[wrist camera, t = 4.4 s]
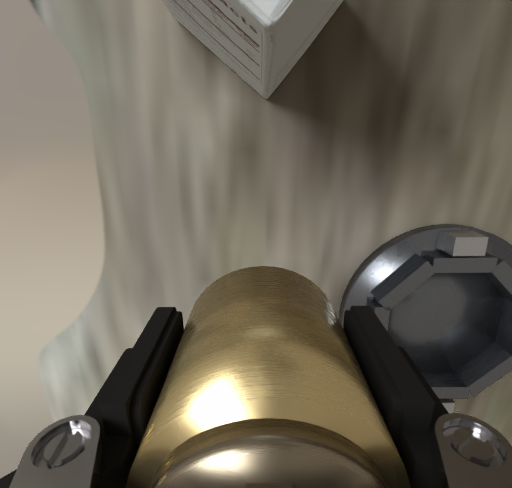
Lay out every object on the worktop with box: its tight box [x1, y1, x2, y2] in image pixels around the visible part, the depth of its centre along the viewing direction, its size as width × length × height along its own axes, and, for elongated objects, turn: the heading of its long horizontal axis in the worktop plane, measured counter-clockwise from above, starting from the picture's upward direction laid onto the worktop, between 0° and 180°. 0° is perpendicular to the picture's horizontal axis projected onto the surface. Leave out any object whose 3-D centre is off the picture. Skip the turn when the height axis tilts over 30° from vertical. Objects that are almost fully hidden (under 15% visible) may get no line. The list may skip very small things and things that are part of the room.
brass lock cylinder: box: [126, 266, 411, 488], centre depth 8 cm, size 5×5×6 cm
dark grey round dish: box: [339, 224, 512, 413], centre depth 22 cm, size 14×14×3 cm
